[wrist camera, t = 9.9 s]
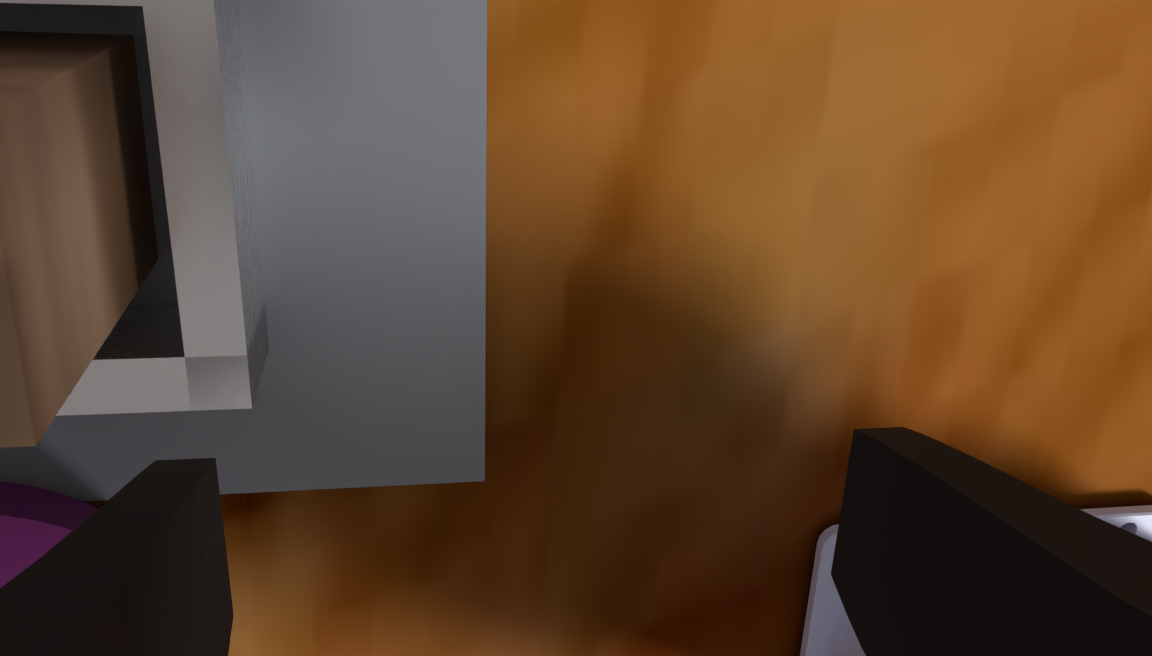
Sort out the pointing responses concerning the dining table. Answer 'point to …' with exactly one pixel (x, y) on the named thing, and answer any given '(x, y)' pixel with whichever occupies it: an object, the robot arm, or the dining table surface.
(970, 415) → the dining table surface
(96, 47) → the walnut peg
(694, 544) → the dining table surface
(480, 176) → the socket board
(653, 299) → the dining table surface
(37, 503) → the mounting bracket
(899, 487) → the robot arm
